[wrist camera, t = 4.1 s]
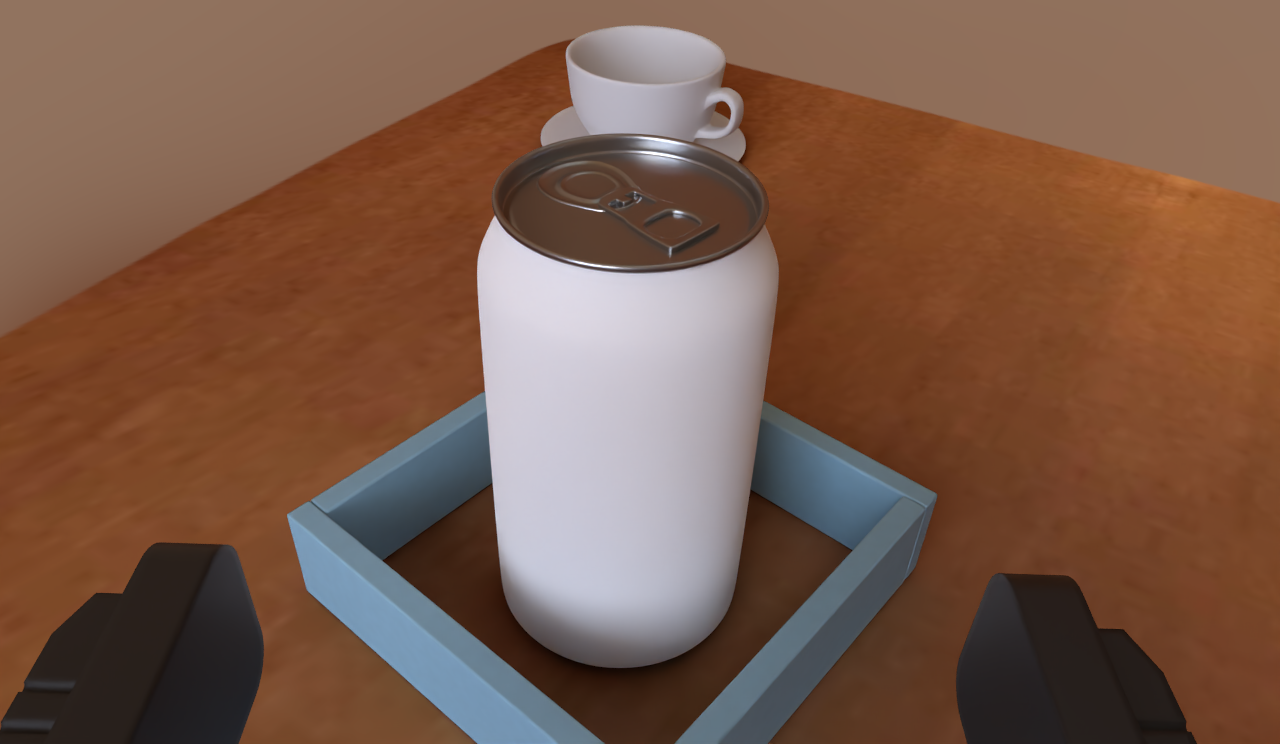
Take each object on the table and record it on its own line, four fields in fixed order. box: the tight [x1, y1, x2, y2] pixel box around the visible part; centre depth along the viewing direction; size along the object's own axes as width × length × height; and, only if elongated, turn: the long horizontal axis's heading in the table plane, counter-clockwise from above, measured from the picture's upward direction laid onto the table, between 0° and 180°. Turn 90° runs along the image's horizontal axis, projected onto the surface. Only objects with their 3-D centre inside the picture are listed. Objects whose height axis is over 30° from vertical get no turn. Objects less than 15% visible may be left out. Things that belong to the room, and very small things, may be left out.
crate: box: [287, 391, 937, 744], centre depth 27 cm, size 12×12×3 cm
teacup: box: [541, 26, 746, 161], centre depth 47 cm, size 10×10×5 cm
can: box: [477, 133, 779, 668], centre depth 24 cm, size 6×6×12 cm
